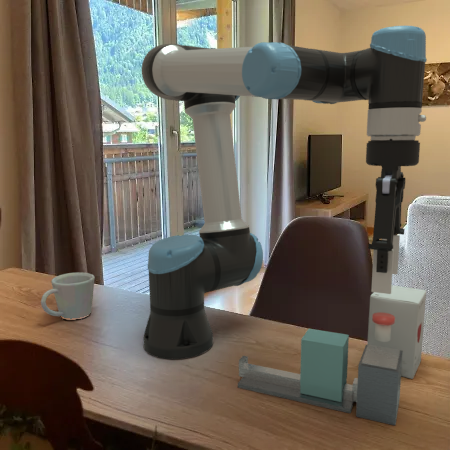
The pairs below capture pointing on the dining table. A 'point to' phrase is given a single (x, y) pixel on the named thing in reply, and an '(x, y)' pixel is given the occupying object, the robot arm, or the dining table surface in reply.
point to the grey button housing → (379, 384)
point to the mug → (71, 295)
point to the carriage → (324, 364)
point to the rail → (289, 386)
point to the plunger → (383, 326)
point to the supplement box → (401, 324)
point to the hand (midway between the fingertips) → (385, 282)
